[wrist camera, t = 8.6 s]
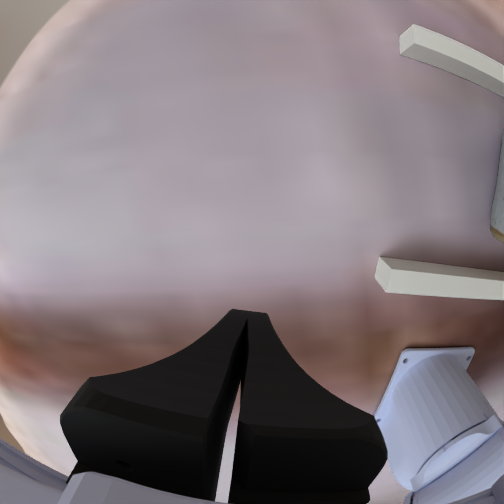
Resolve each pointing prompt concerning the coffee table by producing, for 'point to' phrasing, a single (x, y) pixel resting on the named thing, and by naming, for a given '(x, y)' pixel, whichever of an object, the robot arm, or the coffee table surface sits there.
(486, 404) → the robot arm
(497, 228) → the ceramic mug
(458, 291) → the track rails
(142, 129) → the coffee table surface
